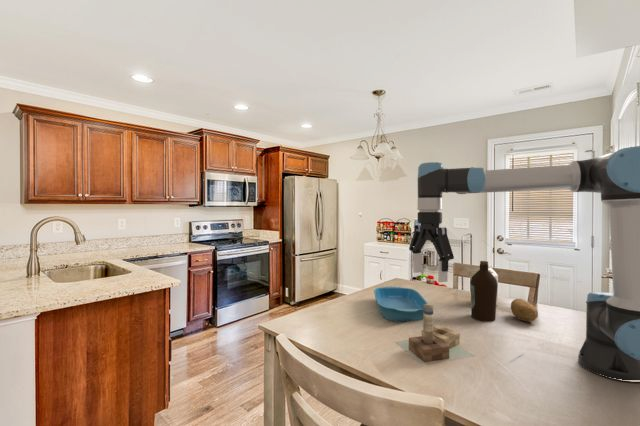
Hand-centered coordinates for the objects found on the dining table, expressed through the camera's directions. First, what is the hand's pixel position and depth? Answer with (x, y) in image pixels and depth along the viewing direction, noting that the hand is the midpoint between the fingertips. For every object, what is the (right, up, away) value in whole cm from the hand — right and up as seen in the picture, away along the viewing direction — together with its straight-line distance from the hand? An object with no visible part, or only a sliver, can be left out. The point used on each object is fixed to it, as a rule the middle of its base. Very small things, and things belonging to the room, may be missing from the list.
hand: (429, 276), depth 101 cm
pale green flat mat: (+3, -26, +5) cm, 27 cm away
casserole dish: (+2, -26, +46) cm, 53 cm away
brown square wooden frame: (0, -25, +1) cm, 25 cm away
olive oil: (+37, -26, +37) cm, 58 cm away
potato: (+53, -26, +34) cm, 68 cm away
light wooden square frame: (+7, -25, +9) cm, 28 cm away
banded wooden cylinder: (0, -25, +1) cm, 25 cm away
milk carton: (+48, -25, +56) cm, 78 cm away
